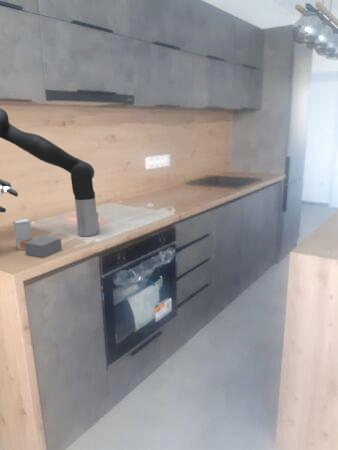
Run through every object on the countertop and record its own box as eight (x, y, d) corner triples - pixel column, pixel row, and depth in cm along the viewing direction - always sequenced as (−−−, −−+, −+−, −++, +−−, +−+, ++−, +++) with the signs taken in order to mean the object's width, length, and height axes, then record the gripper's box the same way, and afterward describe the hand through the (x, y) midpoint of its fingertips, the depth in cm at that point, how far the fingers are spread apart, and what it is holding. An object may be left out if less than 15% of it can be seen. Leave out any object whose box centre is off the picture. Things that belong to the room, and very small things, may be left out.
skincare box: (19, 250, 154) (15, 223, 151) (16, 247, 157) (12, 220, 154) (34, 247, 157) (30, 220, 154) (31, 244, 161) (27, 218, 157)
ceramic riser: (44, 246, 158) (42, 235, 156) (61, 249, 153) (60, 238, 152) (25, 254, 149) (24, 242, 148) (43, 257, 145) (42, 245, 143)
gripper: (-14, 177, 153) (21, 195, 154) (-36, 202, 145) (1, 220, 146) (-17, 166, 147) (20, 184, 148) (-40, 192, 139) (-1, 211, 140)
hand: (11, 202), depth 147 cm, fingers open, 8 cm apart
